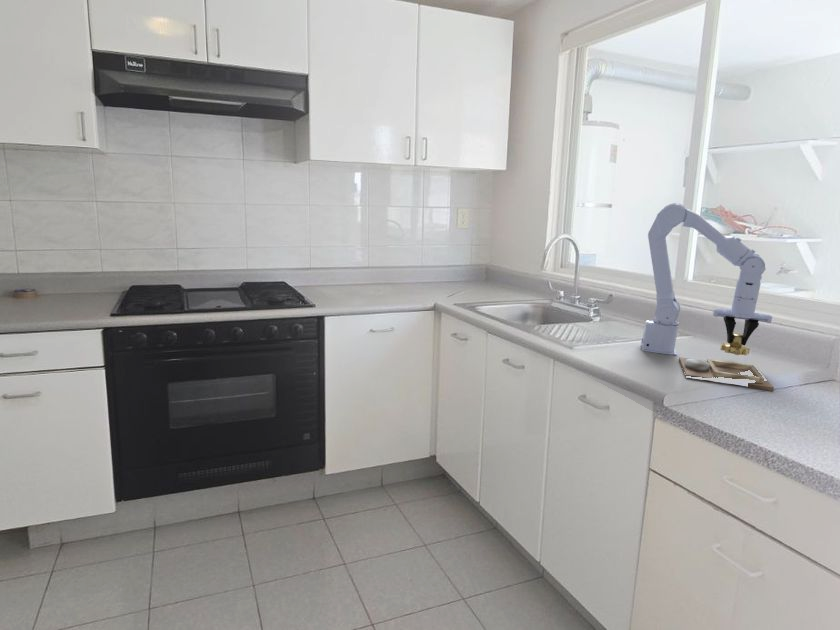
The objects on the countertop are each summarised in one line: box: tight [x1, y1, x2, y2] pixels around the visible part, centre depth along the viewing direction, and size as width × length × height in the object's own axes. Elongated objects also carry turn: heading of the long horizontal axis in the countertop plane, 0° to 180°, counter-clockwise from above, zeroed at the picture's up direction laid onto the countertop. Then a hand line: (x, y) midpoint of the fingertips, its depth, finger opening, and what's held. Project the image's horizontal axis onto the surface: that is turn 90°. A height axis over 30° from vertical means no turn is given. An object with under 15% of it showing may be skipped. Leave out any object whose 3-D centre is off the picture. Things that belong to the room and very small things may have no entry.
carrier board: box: [678, 356, 774, 392], centre depth 148 cm, size 20×16×2 cm
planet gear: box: [719, 332, 751, 356], centre depth 158 cm, size 7×7×5 cm
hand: (736, 343), depth 158 cm, fingers closed on planet gear, 3 cm apart
